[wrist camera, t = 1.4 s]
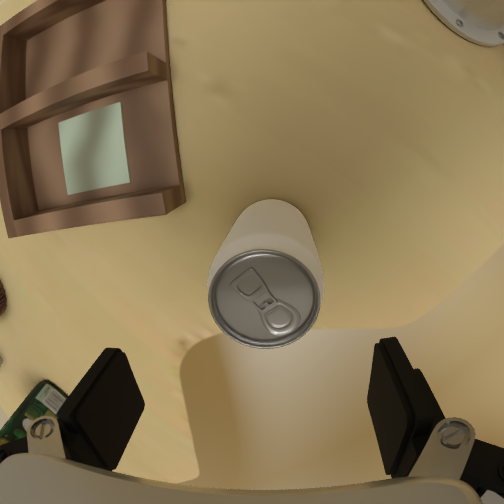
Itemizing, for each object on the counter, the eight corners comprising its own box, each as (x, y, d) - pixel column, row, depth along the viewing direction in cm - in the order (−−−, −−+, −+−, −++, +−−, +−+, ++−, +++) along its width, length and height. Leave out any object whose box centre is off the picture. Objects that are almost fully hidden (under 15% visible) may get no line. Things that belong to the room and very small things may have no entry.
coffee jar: (65, 423, 41) (18, 499, 23) (31, 393, 39) (-24, 463, 22) (84, 407, 38) (28, 496, 21) (45, 372, 37) (-22, 454, 19)
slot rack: (164, -27, 19) (145, -50, 14) (185, 202, 26) (165, 214, 22) (24, 36, 21) (-5, 29, 17) (38, 224, 29) (8, 238, 24)
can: (266, 284, 28) (256, 372, 17) (218, 230, 27) (174, 292, 16) (325, 241, 26) (353, 311, 15) (276, 181, 25) (273, 212, 14)
